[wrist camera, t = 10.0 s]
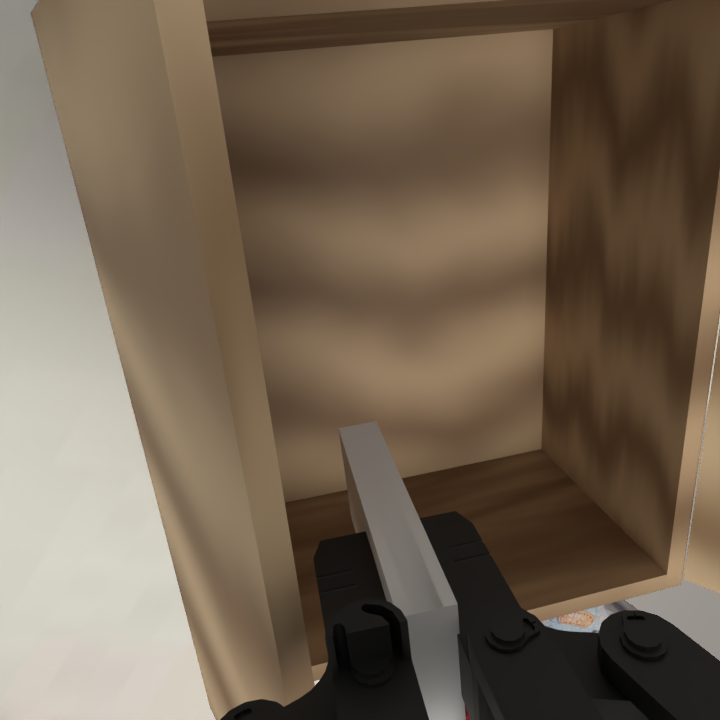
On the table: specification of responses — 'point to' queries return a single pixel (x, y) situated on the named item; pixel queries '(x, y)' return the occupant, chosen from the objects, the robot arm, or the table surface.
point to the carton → (485, 269)
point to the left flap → (183, 324)
